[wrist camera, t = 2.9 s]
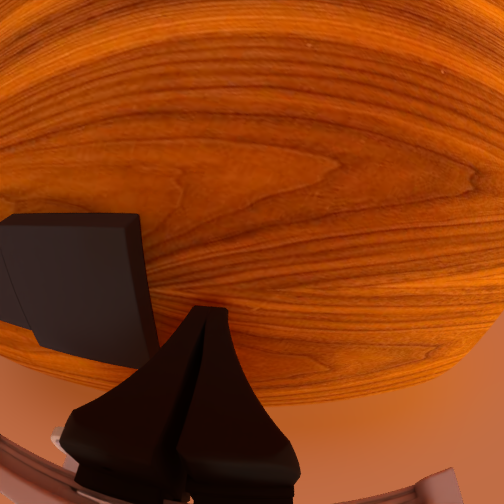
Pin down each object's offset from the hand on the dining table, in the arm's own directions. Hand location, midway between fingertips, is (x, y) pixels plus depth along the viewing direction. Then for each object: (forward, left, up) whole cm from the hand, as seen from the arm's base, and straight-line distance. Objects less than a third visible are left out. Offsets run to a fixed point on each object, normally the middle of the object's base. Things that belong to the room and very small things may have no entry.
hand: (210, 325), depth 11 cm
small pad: (0, +9, -2) cm, 9 cm away
